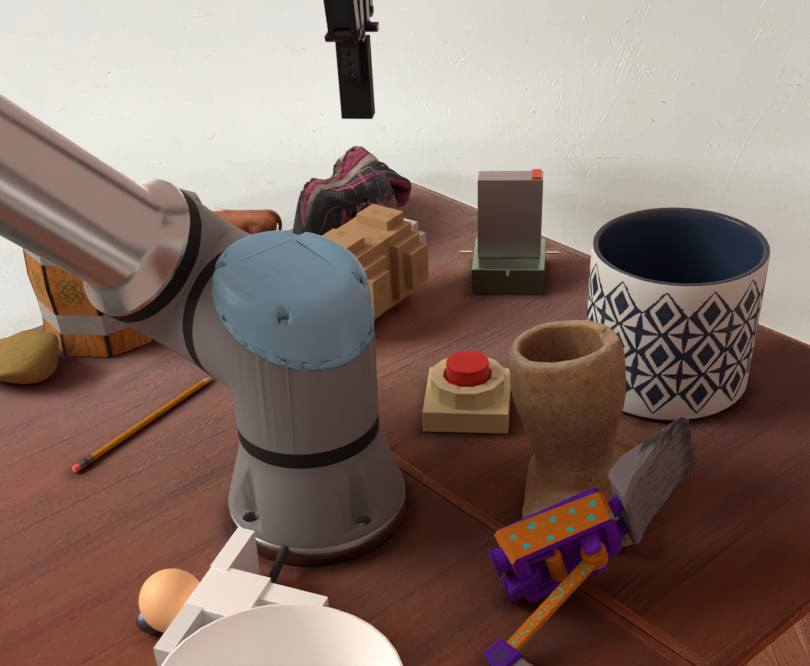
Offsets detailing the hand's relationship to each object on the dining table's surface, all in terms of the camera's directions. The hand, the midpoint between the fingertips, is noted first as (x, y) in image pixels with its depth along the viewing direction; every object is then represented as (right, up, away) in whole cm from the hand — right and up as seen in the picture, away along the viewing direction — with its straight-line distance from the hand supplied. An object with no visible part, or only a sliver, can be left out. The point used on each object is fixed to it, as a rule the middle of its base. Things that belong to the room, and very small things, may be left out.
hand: (358, 115), depth 98 cm
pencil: (-21, -26, +12) cm, 35 cm away
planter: (+30, -21, +13) cm, 39 cm away
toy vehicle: (+16, -33, -11) cm, 39 cm away
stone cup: (+19, -33, 0) cm, 38 cm away
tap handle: (+16, -5, +29) cm, 33 cm away
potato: (-34, -16, +21) cm, 43 cm away
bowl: (-3, -54, -23) cm, 59 cm away
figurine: (-2, -44, -15) cm, 47 cm away
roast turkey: (0, -12, +26) cm, 29 cm away
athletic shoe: (-8, +5, +39) cm, 40 cm away
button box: (+10, -24, +11) cm, 28 cm away
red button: (+10, -22, +9) cm, 25 cm away
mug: (-26, -13, +27) cm, 39 cm away
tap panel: (+16, -7, +31) cm, 35 cm away
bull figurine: (-17, -5, +35) cm, 39 cm away
